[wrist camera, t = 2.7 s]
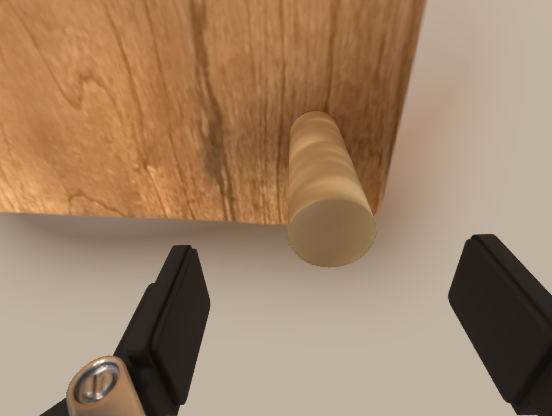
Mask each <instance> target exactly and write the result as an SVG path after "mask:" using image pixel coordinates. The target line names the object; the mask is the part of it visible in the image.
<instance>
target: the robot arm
mask: <svg viewBox="0 0 552 416" xmlns="http://www.w3.org/2000/svg"><path fill="white" fill-rule="evenodd" d="M448 298H449V303H450V305H451V307H452V309H453V310H454V312H455V314H456V316H457V317H458V319H459V321H460V323H461V325H462V326H463V328H464V330H465V332H466V334H467V335H468V337H469V339H470V341H471V342H472V344H473V346H474V348H475V349H476V351H477V353H478V355H479V357H480V358H481V360H482V362H483V364H484V366H485V367H486V369H487V371H488V372H489V375H490V376H491V378H492V380H493V382H494V383H495V385H496V387H497V389H498V391H499V392H500V394H501V396H502V397H503V399H504V400H505V401H506V402H508V403H511V405H512V407H513V408H514V410H515V412H516V414H517V415H538V416H552V295H551V294H550V293H549V292H548V291H547V290H546V289H545V288H544V287H543V286H542V285H541V283H540V282H539V281H538V280H537V279H536V278H535V277H534V276H533V275H532V274H531V273H530V272H529V271H528V270H527V269H526V267H524V265H523V264H522V263H521V262H520V261H519V260H518V259H517V258H516V257H515V256H514V255H513V254H512V252H511V251H510V250H509V249H508V248H507V247H506V246H505V245H504V244H503V243H502V242H501V241H500V240H499V239H498V238H497V237H496V236H495V235H493V234H479V235H473V236H472V237H471V239H468V240H467V241H466V242H465V245H464V249H463V251H462V255H461V257H460V260H459V263H458V266H457V269H456V272H455V276H454V278H453V281H452V284H451V287H450V290H449V294H448ZM209 310H210V298H209V295H208V291H207V287H206V283H205V280H204V276H203V272H202V268H201V264H200V261H199V257H198V253H197V250H196V249H192V247H191V246H190V245H175V246H173V247H172V249H171V251H170V253H169V255H168V257H167V259H166V261H165V263H164V265H163V267H162V270H161V271H160V273H159V275H158V278H157V280H156V282H155V283H151V284H150V285H149V286H148V287H147V289H146V291H145V293H144V295H143V297H142V299H141V301H140V303H139V305H138V307H137V309H136V311H135V313H134V315H133V317H132V319H131V321H130V323H129V325H128V327H127V329H126V331H125V333H124V335H123V337H122V339H121V341H120V343H119V345H118V346H117V348H116V350H115V352H114V354H113V356H105V357H100V358H98V359H96V360H94V361H91V362H90V363H89V364H87V365H86V366H84V367H83V368H82V369H81V370H80V371H79V372H78V373H77V374H76V375H75V376H74V378H73V379H72V381H71V382H70V384H69V387H68V389H67V392H66V394H67V395H66V398H65V399H63V400H62V401H61V402H59V403H57V404H56V405H54V406H53V407H52V408H50V409H49V410H47V411H46V412H44V413H43V414H41V415H40V416H177V415H178V411H179V407H180V405H184V404H185V402H186V400H187V396H188V392H189V389H190V384H191V381H192V376H193V373H194V369H195V365H196V361H197V357H198V353H199V349H200V346H201V342H202V338H203V334H204V330H205V326H206V322H207V318H208V314H209Z"/></svg>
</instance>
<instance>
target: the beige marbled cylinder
mask: <svg viewBox="0 0 552 416" xmlns="http://www.w3.org/2000/svg"><path fill="white" fill-rule="evenodd" d="M375 237H376V222H375V219H374V217H373V214H372V211H371V209H370V206H369V204H368V201H367V199H366V196H365V194H364V191H363V189H362V186H361V184H360V181H359V178H358V176H357V173H356V171H355V168H354V166H353V163H352V161H351V158H350V156H349V153H348V151H347V148H346V145H345V143H344V140H343V138H342V135H341V133H340V130H339V128H338V125H337V123H336V121H335V120H334V119H333V118H332V117H331V116H330V115H328V114H327V113H325V112H321V111H310V112H307V113H304V114H302V115H301V116H299V117H298V118H297V119H296V120H295V122H294V123H293V125H292V127H291V130H290V148H289V201H288V240H289V243H290V246H291V248H292V249H293V251H294V252H295V253H296V254H297V256H299V257H300V258H301V259H302V260H304V261H306V262H308V263H310V264H312V265H316V266H320V267H339V266H344V265H347V264H350V263H352V262H354V261H356V260H358V259H359V258H361V257H362V256H363V255H364V254H366V253H367V252H368V251H369V249H370V248H371V246H372V245H373V243H374V240H375Z"/></svg>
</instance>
